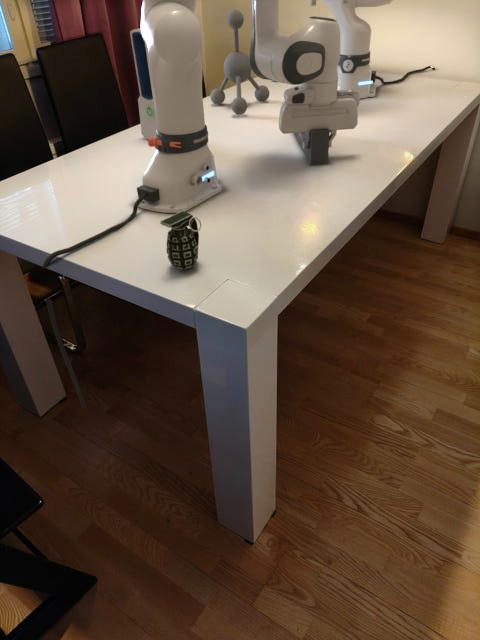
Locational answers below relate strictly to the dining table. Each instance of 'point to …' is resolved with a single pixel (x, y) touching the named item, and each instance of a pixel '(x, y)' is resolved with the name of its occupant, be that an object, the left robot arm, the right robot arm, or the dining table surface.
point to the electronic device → (144, 85)
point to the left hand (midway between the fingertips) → (316, 147)
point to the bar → (316, 145)
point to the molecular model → (238, 71)
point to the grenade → (182, 240)
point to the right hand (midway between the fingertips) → (329, 4)
